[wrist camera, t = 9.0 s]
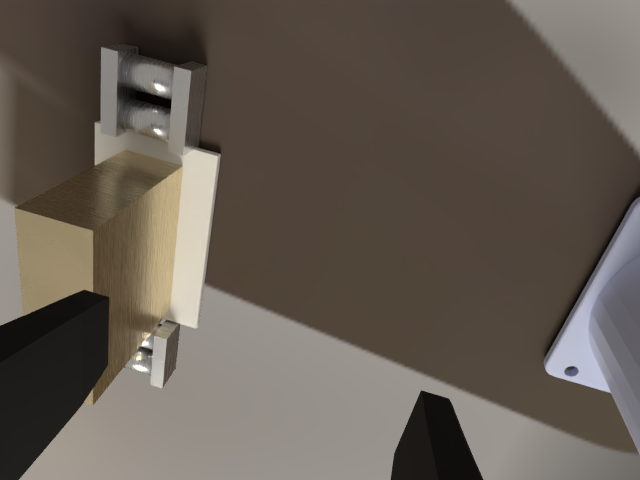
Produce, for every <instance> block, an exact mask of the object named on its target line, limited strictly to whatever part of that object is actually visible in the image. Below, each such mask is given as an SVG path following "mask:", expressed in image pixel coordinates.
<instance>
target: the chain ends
mask: <svg viewBox="0 0 640 480" xmlns="http://www.w3.org/2000/svg"><path fill="white" fill-rule="evenodd" d="M206 74H207V65H203V64H199V63H196V62H192V61H191V62H188V63H184V64H181V65H176V64H172V63H168V62H165V61H161V60H157V59H153V58H149V57H146V56H142V55H139V47H135V46H131V45H127V44H124V43H123V44H117V45H111V46H105V47H101V130H100V133H103V134H106V135H110V136H113V137H117V136H119V135H122V134H124V133H126V132H131V133H135V134H139V135H142V136H146V137H149V138H153V139H157V140H160V141H164V142H168V152H171V153H175V154H178V155H182V156H184V155H186V154H187V153H189V152H190V151H192V150H193V149H194V148H196V147H197V146H199V140H200V131H201V121H202V112H203V102H204V93H205V83H206ZM137 90H138V91H141V92H145V93H149V94H152V95H156V96H160V97H164V98H167V99H171V100H172V103H171V109H169V108H165V107H161V106H158V105H154V104H150V103H147V102H143V101H139V100H137ZM179 330H180V324H179V323H176V322H173V321H169V320H166V321H165V322H164V324H163V325H162V324H158V325H157V326H156V328H155V329H154V330H153V331H152V333H151V334H150V335H149V336H148V338H147V339H146V340H145V341H144V343H143V344H142V345H141V346H140V348H139V349H138V350H137V351H136V353H135V354H134V355H133V356H132V358H131V359H130V360H129V361H128V363H127V364H126V365H125V366H124V368H127V369H131V370H134V371H138V372H140V373H144V374H147V375H150V376H151V385H152V386H156V387H159V388H163V387H164V386H165V384H166V382H167V381H168V379H169V378H170V376H171V375H172V373H173V372H174V370H175V369H176V358H177V350H178V341H179Z"/></svg>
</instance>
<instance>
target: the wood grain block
mask: <svg viewBox="0 0 640 480" xmlns="http://www.w3.org/2000/svg"><path fill="white" fill-rule="evenodd" d="M182 173H183V166H182V165H178V164H175V163H171V162H167V161H164V160H160V159H157V158H153V157H149V156H146V155H142V154H139V153H135V152H132V151H128V150H124V151H122V152H120V153H118V154H116V155H114V156H112V157H110V158H108V159H107V160H105V161H103V162H101V163H99V164H97V165H95V166H93V167H91V168H89V169H88V170H86V171H84V172H82V173H80V174H78V175H76V176H74V177H72V178H70V179H69V180H67V181H65V182H63V183H61V184H59V185H57V186H55V187H53V188H52V189H50V190H48V191H46V192H44V193H42V194H40V195H38V196H36V197H34V198H33V199H31V200H29V201H27V202H25V203H23V204H21V205H19V206H17V207H15V219H16V231H17V244H18V256H19V269H20V280H21V293H22V305H23V316H24V315H27V314H29V313H31V312H33V311H36V310H38V309H40V308H42V307H45V306H47V305H49V304H51V303H54V302H56V301H58V300H61V299H63V298H65V297H67V296H70V295H72V294H75V293H77V292H80V291H82V290H87V291H91V292H94V293H97V294H101V295H104V296H107V297H109V345H108V366H107V368H106V369H105V371H104V372H103V374H102V375H101V377H100V379H99V380H98V382H97V383H96V385H95V387H94V388H93V389H92V391H91V392H90V394H89V395H88V397H87V398H86V400H85V401H84V403H85V404H89V405H92V406H93V405H94V404H95V403H96V401H97V400H98V399H99V397H100V396H101V395H102V394H103V393H104V391H105V390H106V389H107V388H108V386H109V385H110V384H111V383H112V381H113V380H114V379H115V378H116V376H117V375H118V374H119V372H120V371H121V370H122V369H123V368H124V366H125V365H126V364H127V363H128V361H129V360H130V359H131V358H132V356H133V355H134V354H135V353H136V351H137V350H138V349H139V348H140V346H141V345H142V344H143V343H144V341H145V340H146V339H147V338H148V336H149V335H150V334H151V333H152V331H153V330H154V329H155V328H156V326H157V325H158V324H159V323H160V321H161V320H162V319H163V318H164V316H165V315H166V314H167V313H168V311H169V310H170V304H171V293H172V282H173V271H174V260H175V249H176V238H177V228H178V217H179V206H180V195H181V184H182Z"/></svg>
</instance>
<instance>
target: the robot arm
mask: <svg viewBox="0 0 640 480" xmlns="http://www.w3.org/2000/svg"><path fill="white" fill-rule="evenodd" d="M108 345H109V297H107V296H104V295H101V294H97V293H94V292H91V291H87V290H82V291H80V292H77V293H75V294H72V295H70V296H67V297H65V298H63V299H61V300H58V301H56V302H54V303H51V304H49V305H47V306H45V307H42V308H40V309H38V310H36V311H33V312H31V313H29V314H27V315H24V316H22V317H20V318H17V319H15V320H13V321H11V322H8V323H6V324H4V325H1V326H0V480H19V479H20V478H21V476H22V475H23V474H24V473H25V472H26V470H27V469H28V468H29V467H30V466H31V465H32V464H33V462H34V461H35V460H36V459H37V458H38V456H39V455H40V454H41V453H42V452H43V450H44V449H45V448H46V447H47V446H48V445H49V444H50V442H51V441H52V440H53V439H54V438H55V437H56V435H57V434H58V433H59V432H60V431H61V429H62V428H63V427H64V426H65V425H66V423H67V422H68V421H69V420H70V419H71V417H72V416H73V415H74V414H75V413H76V411H77V410H78V409H79V408H80V407H81V405H82V404H83V403H84V401H85V400H86V398H87V397H88V395H89V394H90V392H91V391H92V389H93V388H94V387H95V385H96V383H97V382H98V380H99V379H100V377H101V375H102V374H103V372H104V371H105V369H106V368H107V366H108ZM544 366H545V369H546V371H547V372H548V374H550V375H552V376H555V377H558V378H561V379H565V380H568V381H572V382H575V383H579V384H582V385H585V386H589V387H592V388H596V389H599V390H602V391H606V392H609V393H611V394H612V396H613V398H614V400H615V402H616V405H617V407H618V409H619V411H620V413H621V415H622V417H623V420H624V422H625V424H626V426H627V428H628V430H629V432H630V434H631V437H632V439H633V441H634V443H635V445H636V447H637V449H638V452H639V454H640V197H639V198H637V199H635V201H634V202H633V203H632V204H631V206H630V208H629V210H628V211H627V213H626V215H625V217H624V218H623V220H622V222H621V224H620V226H619V227H618V229H617V231H616V233H615V234H614V236H613V238H612V240H611V242H610V243H609V245H608V247H607V249H606V250H605V252H604V254H603V256H602V258H601V259H600V261H599V263H598V265H597V266H596V268H595V270H594V272H593V274H592V275H591V277H590V279H589V281H588V282H587V284H586V286H585V288H584V290H583V291H582V293H581V295H580V297H579V298H578V300H577V302H576V304H575V306H574V307H573V309H572V311H571V313H570V314H569V316H568V318H567V320H566V322H565V323H564V325H563V327H562V329H561V330H560V332H559V334H558V336H557V337H556V339H555V341H554V343H553V345H552V346H551V348H550V350H549V352H548V353H547V355H546V357H545V359H544ZM569 366H575V368H574V369H571V370H566V368H567V367H569ZM391 480H483V478H482V476H481V473H480V471H479V469H478V467H477V464H476V462H475V460H474V458H473V455H472V453H471V451H470V448H469V446H468V444H467V441H466V439H465V436H464V434H463V431H462V429H461V426H460V424H459V421H458V419H457V416H456V414H455V411H454V408H453V406H452V403H451V402H450V400H449V399H448V398H445V397H442V396H438V395H435V394H431V393H428V392H425V391H421V392H420V394H419V397H418V399H417V401H416V404H415V406H414V409H413V411H412V413H411V416H410V418H409V420H408V423H407V425H406V427H405V430H404V432H403V434H402V437H401V439H400V441H399V444H398V446H397V448H396V451H395V453H394V460H393V467H392V475H391Z"/></svg>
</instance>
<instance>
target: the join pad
mask: <svg viewBox="0 0 640 480" xmlns="http://www.w3.org/2000/svg"><path fill="white" fill-rule="evenodd" d="M100 130H101V121H97V122H95V165H97V164H99V163H101V162H103V161H105V160H107V159H108V158H110V157H112V156H114V155H116V154H118V153H120V152H122V151H124V150H128V151H132V152H135V153H139V154H142V155H146V156H149V157H153V158H157V159H160V160H164V161H167V162H171V163H175V164H178V165H182V166H183V173H182V184H181V195H180V206H179V217H178V228H177V238H176V249H175V260H174V271H173V282H172V293H171V304H170V310H169V311H168V313H167V314H166V315H165V316H164V318H163V319H166V320H169V321H173V322H176V323H179V324H183V325H186V326H190V327H193V328H197V327H198V326H199V322H200V313H201V306H202V298H203V289H204V282H205V275H206V267H207V259H208V251H209V243H210V235H211V228H212V220H213V212H214V204H215V196H216V188H217V181H218V173H219V165H220V157H221V154H219V153H215V152H212V151H208V150H205V149H201V148H197V147H196V148H194V149H193V150H192V151H190V152H189V153H187V154H186V155H184V156H182V155H178V154H175V153H171V152H168V142H164V141H160V140H157V139H153V138H149V137H146V136H142V135H139V134H135V133H131V132H126V133H124V134H122V135H119V136H117V137H113V136H110V135H106V134H103V133H100Z"/></svg>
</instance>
